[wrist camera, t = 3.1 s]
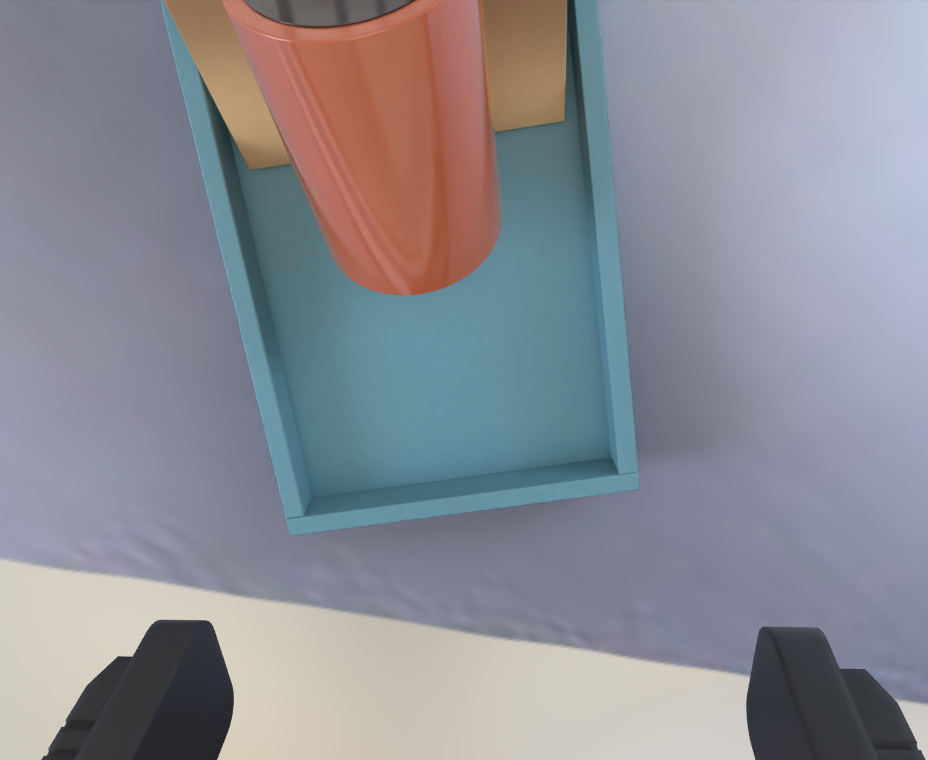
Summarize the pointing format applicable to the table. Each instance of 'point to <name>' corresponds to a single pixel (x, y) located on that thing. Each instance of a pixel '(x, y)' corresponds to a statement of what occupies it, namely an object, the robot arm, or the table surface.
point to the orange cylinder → (384, 130)
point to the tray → (437, 330)
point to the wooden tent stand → (509, 54)
